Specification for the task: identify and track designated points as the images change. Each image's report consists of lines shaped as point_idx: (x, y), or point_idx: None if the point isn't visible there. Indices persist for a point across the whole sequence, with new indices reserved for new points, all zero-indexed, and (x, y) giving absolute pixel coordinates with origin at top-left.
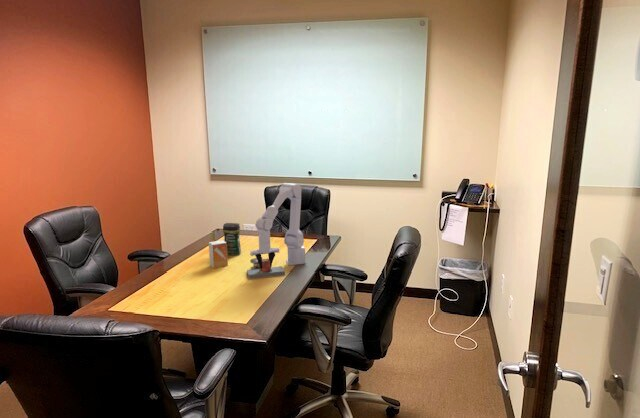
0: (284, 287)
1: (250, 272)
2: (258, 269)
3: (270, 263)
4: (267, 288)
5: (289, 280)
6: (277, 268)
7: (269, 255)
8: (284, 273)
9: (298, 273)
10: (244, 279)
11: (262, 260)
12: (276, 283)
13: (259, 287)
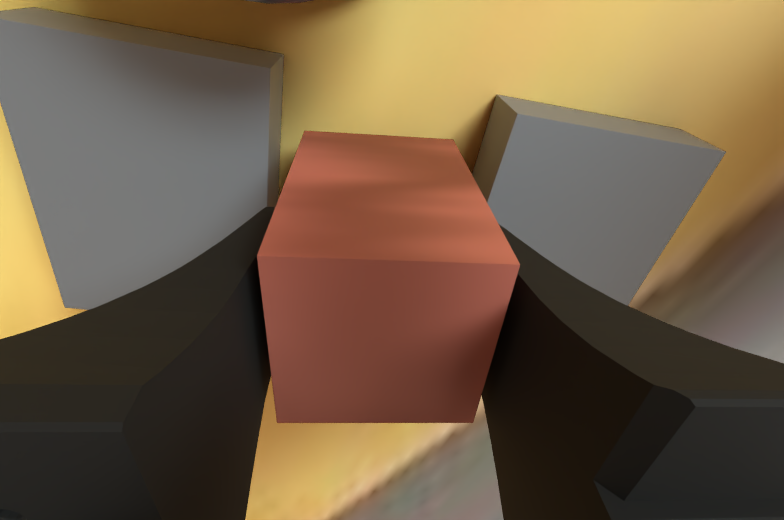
0: (406, 512)
1: (83, 216)
2: (255, 124)
3: None
4: (276, 497)
5: None
6: (586, 229)
7: (549, 478)
8: None
9: (721, 334)
10: (27, 262)
11: (304, 352)
12: (381, 452)
13: None
